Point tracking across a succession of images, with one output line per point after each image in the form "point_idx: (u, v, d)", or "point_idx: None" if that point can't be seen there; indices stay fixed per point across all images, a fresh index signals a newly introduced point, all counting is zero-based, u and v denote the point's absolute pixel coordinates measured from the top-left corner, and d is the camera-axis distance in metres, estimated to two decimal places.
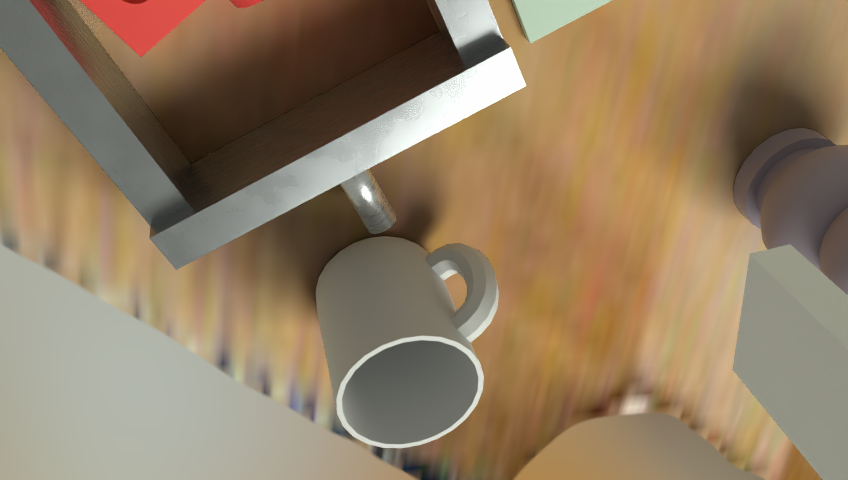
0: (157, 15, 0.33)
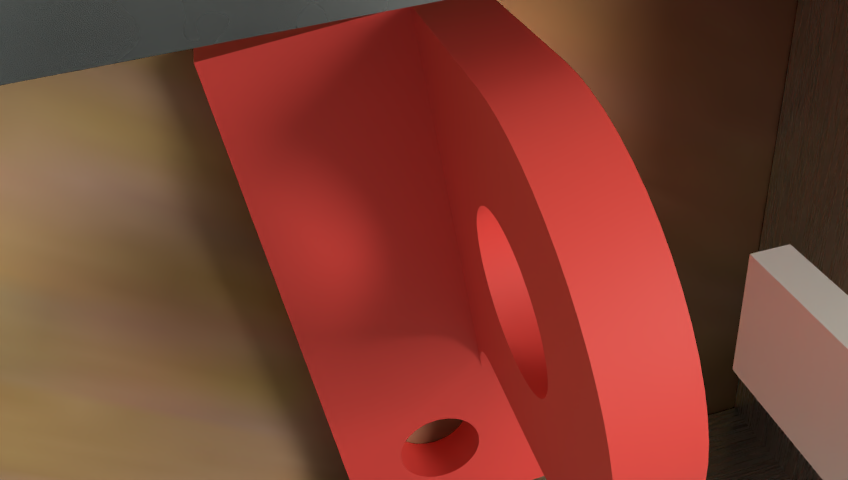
0: (508, 434, 0.18)
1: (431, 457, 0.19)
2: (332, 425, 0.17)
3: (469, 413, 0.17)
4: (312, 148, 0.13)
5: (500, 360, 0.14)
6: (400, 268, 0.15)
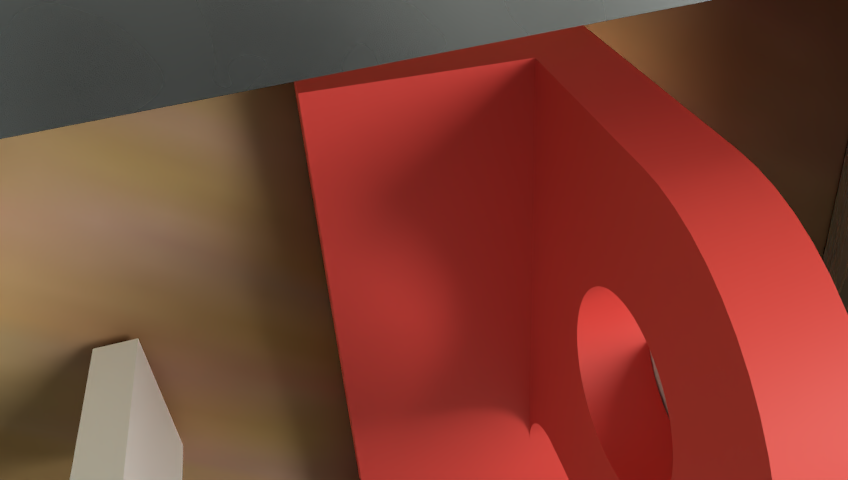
0: None
1: None
2: None
3: None
4: (403, 196, 0.12)
5: (572, 442, 0.13)
6: (468, 330, 0.14)
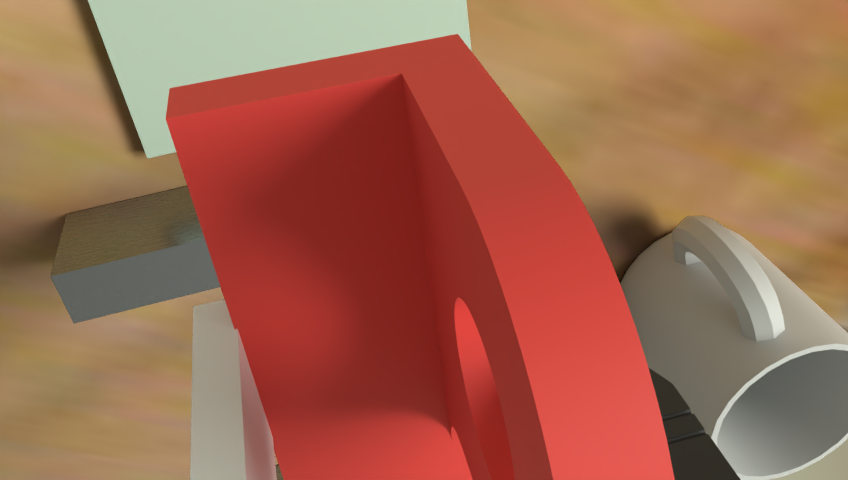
0: None
1: None
2: None
3: None
4: (287, 212, 0.12)
5: (470, 447, 0.13)
6: (373, 338, 0.14)
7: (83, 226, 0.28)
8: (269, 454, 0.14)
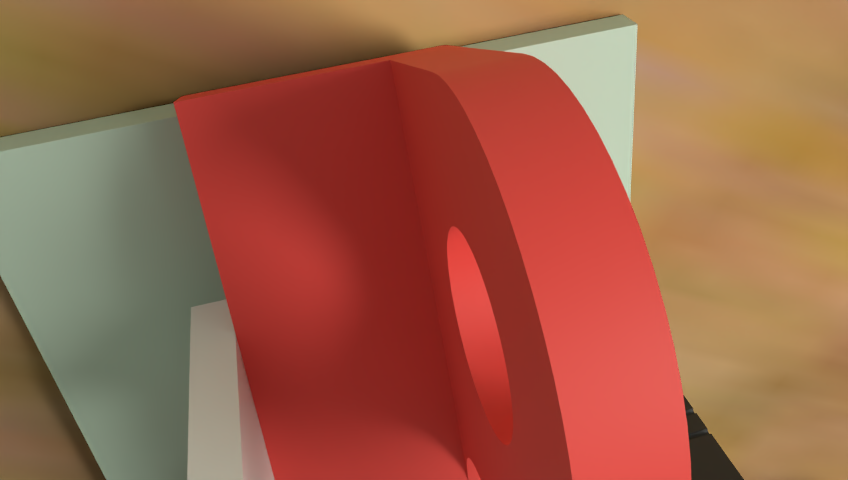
0: None
1: None
2: None
3: None
4: (287, 202, 0.13)
5: (479, 444, 0.12)
6: (377, 351, 0.14)
7: None
8: (267, 455, 0.14)
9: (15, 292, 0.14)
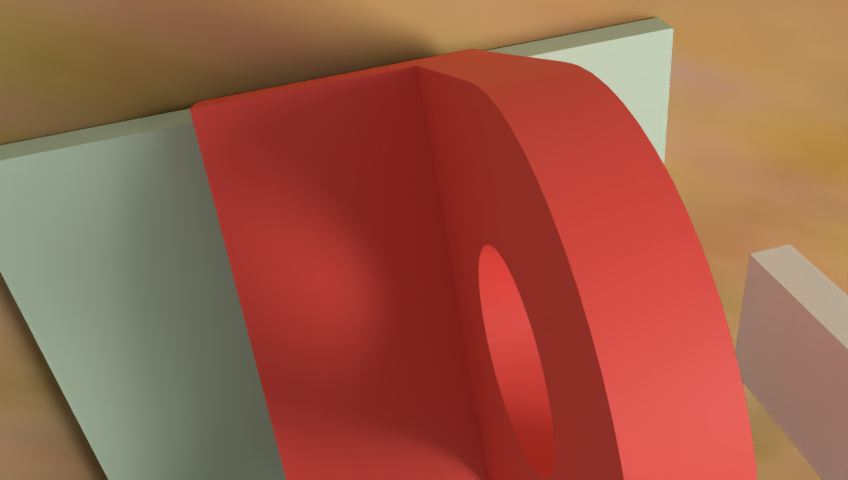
0: None
1: None
2: None
3: None
4: (307, 214, 0.12)
5: (509, 469, 0.12)
6: (399, 368, 0.13)
7: None
8: None
9: (23, 304, 0.14)
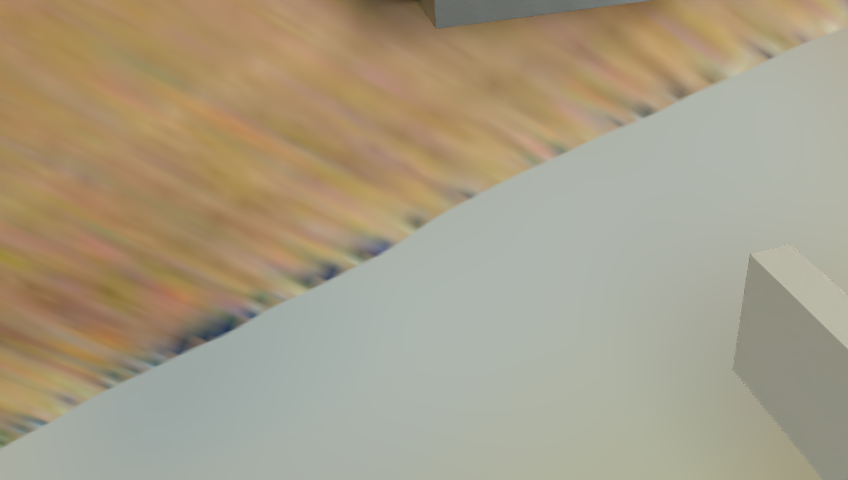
0: None
1: None
2: None
3: None
4: None
5: None
6: None
7: None
8: None
9: None
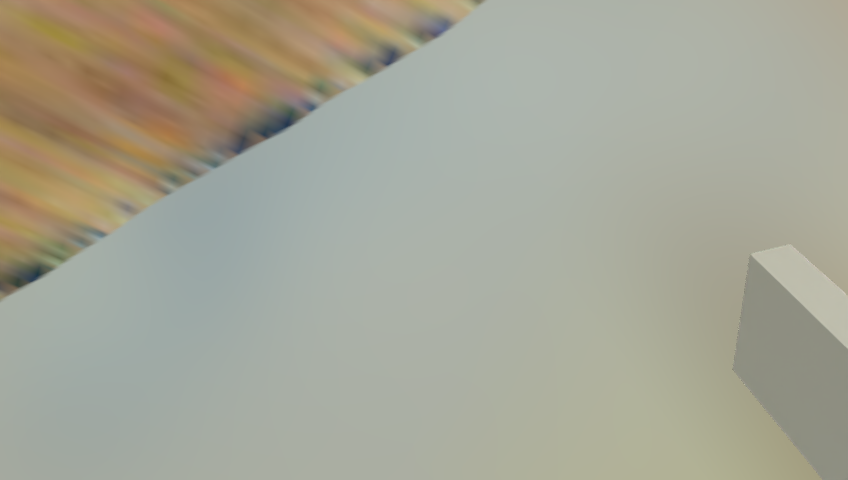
0: None
1: None
2: None
3: None
4: None
5: None
6: None
7: None
8: None
9: None
